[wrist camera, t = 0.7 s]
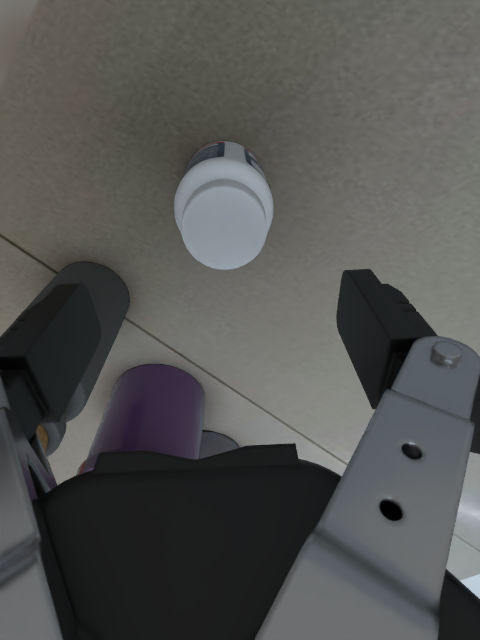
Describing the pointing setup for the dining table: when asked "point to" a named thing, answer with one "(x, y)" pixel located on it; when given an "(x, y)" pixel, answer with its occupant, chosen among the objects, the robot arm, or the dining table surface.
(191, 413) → the jar
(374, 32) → the dining table surface
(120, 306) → the bottle
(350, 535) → the robot arm
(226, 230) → the pill bottle
